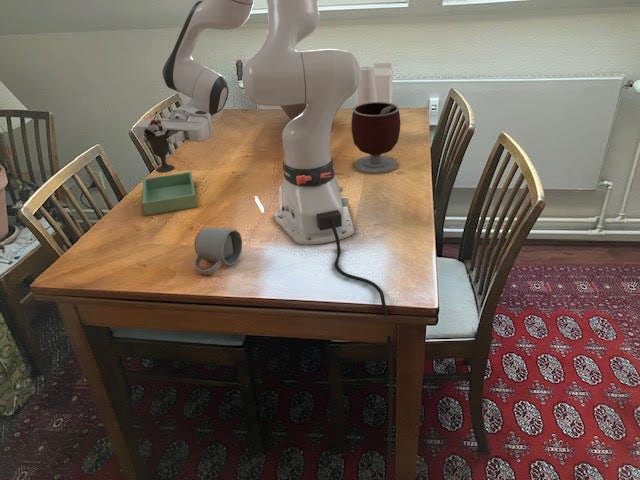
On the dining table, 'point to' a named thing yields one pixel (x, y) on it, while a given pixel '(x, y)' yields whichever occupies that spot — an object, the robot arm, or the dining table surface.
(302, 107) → the ceramic bowl
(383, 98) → the milk
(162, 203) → the green tray
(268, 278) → the dining table surface
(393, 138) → the mate gourd
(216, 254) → the ceramic mug
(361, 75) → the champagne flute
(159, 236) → the dining table surface
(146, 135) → the sundae
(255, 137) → the dining table surface
